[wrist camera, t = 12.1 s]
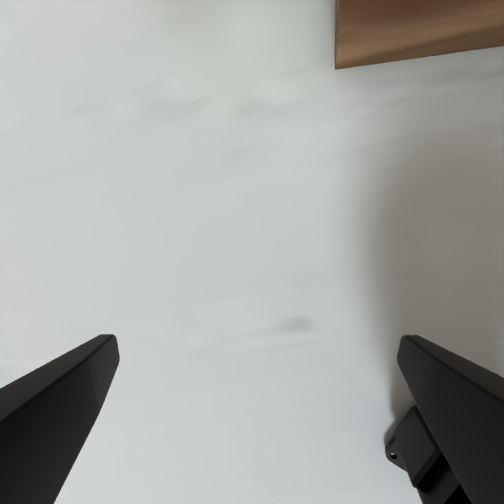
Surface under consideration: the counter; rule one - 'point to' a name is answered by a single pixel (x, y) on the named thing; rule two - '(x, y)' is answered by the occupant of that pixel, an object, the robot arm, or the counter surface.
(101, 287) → the counter surface
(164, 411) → the counter surface
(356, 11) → the seat block
